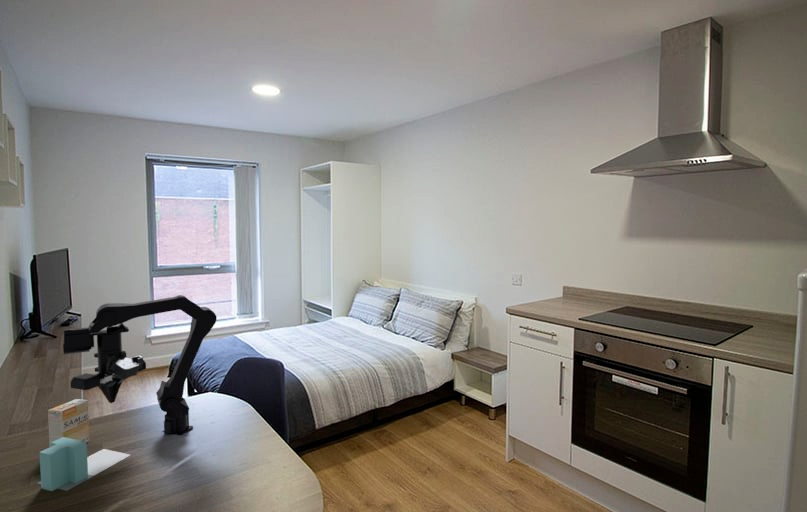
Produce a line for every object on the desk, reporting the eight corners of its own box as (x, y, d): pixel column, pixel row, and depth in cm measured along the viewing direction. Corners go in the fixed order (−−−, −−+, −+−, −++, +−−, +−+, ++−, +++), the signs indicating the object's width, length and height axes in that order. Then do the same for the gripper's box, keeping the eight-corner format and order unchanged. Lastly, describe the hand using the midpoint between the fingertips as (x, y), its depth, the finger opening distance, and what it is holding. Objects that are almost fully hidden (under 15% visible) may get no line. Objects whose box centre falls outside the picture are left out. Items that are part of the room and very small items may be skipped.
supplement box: (63, 457, 119) (61, 411, 118) (49, 455, 120) (46, 409, 119) (90, 443, 127) (88, 399, 126) (77, 441, 128) (75, 398, 127)
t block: (65, 471, 111) (63, 436, 111) (88, 476, 109) (86, 442, 108) (34, 486, 105) (32, 450, 104) (58, 493, 102) (56, 456, 102)
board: (103, 451, 122) (103, 448, 122) (131, 457, 119) (130, 454, 119) (37, 485, 106) (37, 482, 106) (66, 493, 103) (66, 490, 103)
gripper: (99, 361, 112) (101, 420, 113) (159, 342, 130) (161, 394, 131) (67, 357, 115) (70, 414, 116) (130, 339, 133) (132, 389, 134)
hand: (111, 402), depth 124 cm, fingers closed
